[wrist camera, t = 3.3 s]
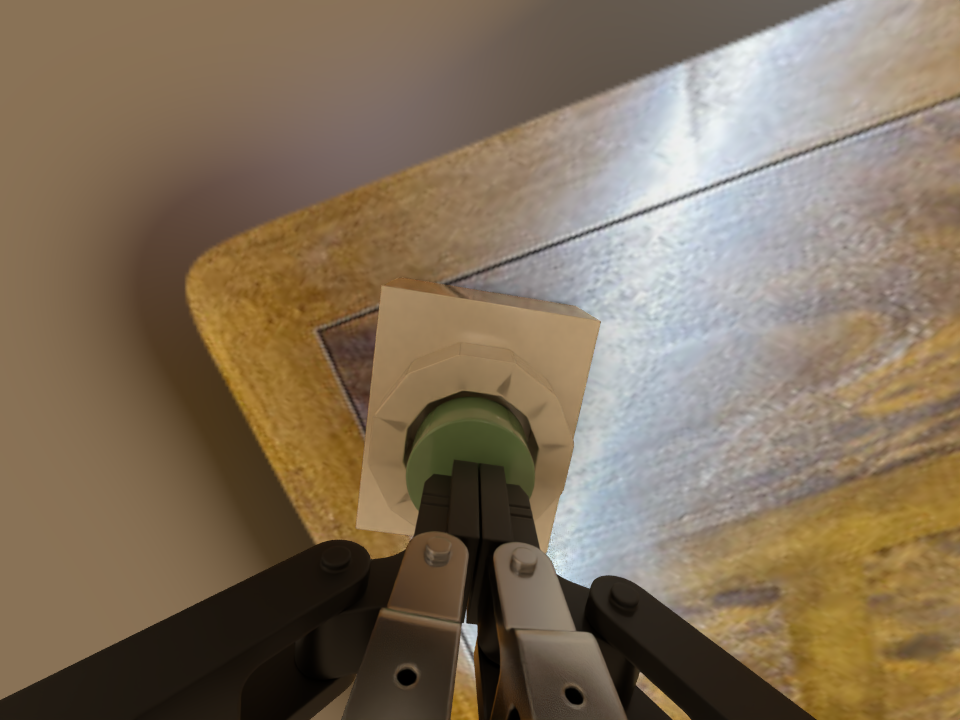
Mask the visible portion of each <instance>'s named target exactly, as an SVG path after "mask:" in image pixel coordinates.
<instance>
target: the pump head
mask: <svg viewBox="0 0 960 720" xmlns="http://www.w3.org/2000/svg"><path fill="white" fill-rule="evenodd" d="M454 459H455V460H462V461H469V462H476V463H478V466H479V463H484V464H491V465H498V466H504V471H505V479H506V484H514V485H520V487H521V488H522V489H523V490H524V491H525V493H526V494H527V495H528V496H529V500H530V498H531V496H532V493H533V489H534V485H535V467H534V462H533V459H532V455H531V452H530V448H529V444H528V441H527V437H526V434H525V431H524V429H523V427H522V425H521V423H520V422H519V420H518V419H517V418H516V416H515V415H514V414H513V413H512V412H511V411H510V410H508V409H507V408H506V407H504V406H503V405H501V404H499V403H497V402H495V401H492V400H489V399H486V398H481V397H461V398H456V399H452V400H449V401H447V402H445V403H443V404H441V405H439V406H438V407H436V408H435V409H433V410H432V411H431V412H430V413H429V414H428V415H427V416H426V417H425V418H424V420H423V421H422V422H421V424H420V426H419V428H418V430H417V433H416V436H415V439H414V442H413V446H412V449H411V452H410V456H409V459H408V463H407V467H406V486H407V490H408V493H409V496H410V498H411V500H412V502H413V504H414V506H415V507H416V509H417V510H418V511H419V508H420V503H421V498H422V493H423V488H424V483H425V481H426V480H427V479H428V478H429V477H431V476H432V475H433V474H441V475H448V476H451V472H452V466H453V461H454Z"/></svg>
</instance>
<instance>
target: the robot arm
mask: <svg viewBox="0 0 960 720" xmlns="http://www.w3.org/2000/svg"><path fill="white" fill-rule="evenodd" d="M466 608H467V620H466V623H468V624H477V626H478V636H477V641H476V646H475V651H474V666H475V678H476V690H477V702H478V714H479V720H672V719H671V718H670V717H669V716H668V715H667V714H666V713H665V712H664V711H663V710H662V709H661V708H659V707H658V706H657V705H656V704H655V703H654V702H653V701H652V700H651V699H650V698H649V697H648V696H647V695H646V694H645V693H644V692H643V691H641V690H640V689H639V688H638V687H637V686H636V682H637V679H638V676H639V673H640V672H641V673H642V674H644V675H645V676H646V677H647V678H648V679H649V680H650V681H651V682H652V683H653V684H655V685H656V686H657V687H658V688H659V689H660V690H661V691H662V692H663V693H664V694H665V695H667V696H668V697H669V698H670V699H671V700H672V701H673V702H674V703H675V704H676V705H678V706H679V707H680V708H681V709H682V710H683V711H684V712H685V713H686V714H687V715H688V716H689V717H690V719H691V720H816V719H815V718H814V717H812V716H811V715H810V714H808V713H807V712H806V711H804V710H803V709H802V708H800V707H799V706H798V705H796V704H795V703H794V702H792V701H791V700H790V699H788V698H787V697H786V696H784V695H783V694H782V693H780V692H779V691H778V690H776V689H775V688H774V687H772V686H771V685H770V684H768V683H767V682H766V681H765V680H763V679H762V678H761V677H759V676H758V675H757V674H755V673H754V672H753V671H751V670H750V669H749V668H747V667H746V666H745V665H743V664H742V663H741V662H739V661H738V660H737V659H735V658H734V657H733V656H731V655H730V654H729V653H727V652H726V651H725V650H723V649H722V648H721V647H719V646H718V645H717V644H715V643H714V642H713V641H711V640H710V639H709V638H707V637H706V636H705V635H703V634H702V633H701V632H699V631H698V630H697V629H695V628H694V627H693V626H691V625H690V624H689V623H688V622H686V621H685V620H684V619H682V618H681V617H680V616H678V615H677V614H676V613H674V612H673V611H672V610H670V609H669V608H668V607H666V606H665V605H664V604H662V603H661V602H660V601H658V600H657V599H656V598H654V597H653V596H652V595H650V594H649V593H648V592H646V591H645V590H644V589H642V588H641V587H640V586H638V585H637V584H635V583H633V582H631V581H629V580H627V579H624V578H621V577H617V576H610V575H608V576H601V577H598V578H596V579H595V580H594V581H593V582H592V585H591V588H590V589H589V588H586V587H583V586H581V585H578V584H575V583H573V582H570V581H568V580H566V579H564V578H562V577H560V576H559V575H557V574H556V571H555V568H554V566H553V563H552V561H551V560H550V558H549V557H548V556H547V555H546V554H545V553H544V552H543V551H541V550H540V546H539V542H538V537H537V533H536V528H535V523H534V519H533V514H532V510H531V505H530V501H529V496H528V495H527V494H526V493H525V491H524V490H523V489H522V488H521V487H520V485H514V484H506V479H505V471H504V466H498V465H491V464H484V463H479V466H478V463H476V462H469V461H462V460H455V459H454V461H453V466H452V472H451V476H448V475H441V474H433V475H432V476H431V477H429V478H428V479H427V480H426V481H425V483H424V488H423V493H422V498H421V503H420V508H419V513H418V517H417V522H416V527H415V532H414V537H413V538H412V539H411V540H410V542H409V543H408V545H407V548H406V549H405V550H404V551H402V552H401V553H399V554H396V555H394V556H391V557H386V558H379V559H370V555H369V553H368V552H367V550H366V549H365V548H364V547H362V546H361V545H359V544H357V543H355V542H352V541H347V540H331V541H326V542H322V543H320V544H317V545H315V546H313V547H311V548H309V549H307V550H305V551H303V552H301V553H299V554H297V555H295V556H293V557H291V558H289V559H287V560H285V561H283V562H281V563H279V564H276V565H274V566H272V567H270V568H269V569H267V570H264V571H262V572H260V573H258V574H256V575H254V576H252V577H250V578H248V579H246V580H244V581H242V582H240V583H238V584H236V585H234V586H232V587H230V588H228V589H226V590H224V591H222V592H219V593H217V594H215V595H213V596H211V597H209V598H207V599H205V600H203V601H201V602H199V603H197V604H195V605H193V606H191V607H189V608H187V609H185V610H183V611H181V612H179V613H177V614H175V615H173V616H171V617H169V618H167V619H165V620H163V621H160V622H159V623H156V624H154V625H152V626H150V627H148V628H146V629H144V630H142V631H140V632H138V633H136V634H134V635H132V636H130V637H128V638H126V639H124V640H122V641H120V642H118V643H116V644H114V645H112V646H110V647H107V648H105V649H103V650H101V651H99V652H97V653H95V654H93V655H91V656H89V657H87V658H85V659H83V660H81V661H79V662H77V663H75V664H73V665H71V666H69V667H67V668H65V669H63V670H61V671H59V672H57V673H55V674H53V675H50V676H48V677H47V678H45V679H42V680H40V681H38V682H36V683H34V684H32V685H30V686H28V687H26V688H24V689H22V690H20V691H18V692H16V693H14V694H12V695H10V696H8V697H6V698H4V699H2V700H0V720H310V719H311V718H312V717H314V716H315V715H316V714H317V713H318V712H320V711H321V710H322V709H323V708H324V707H326V706H327V705H328V704H329V703H330V702H332V701H333V700H334V699H335V698H336V697H338V696H339V695H340V694H341V693H342V692H344V691H345V690H346V689H347V688H348V687H349V686H350V685H351V683H352V682H353V681H354V679H355V677H356V679H355V682H354V685H353V688H352V690H351V693H350V696H349V699H348V702H347V705H346V707H345V710H344V713H343V716H342V719H341V720H450V718H451V709H452V701H453V693H454V684H455V676H456V668H457V660H458V651H459V643H460V635H461V626H462V623H464V618H465V613H466ZM356 674H357V676H356Z"/></svg>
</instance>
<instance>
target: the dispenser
mask: <svg viewBox="0 0 960 720" xmlns="http://www.w3.org/2000/svg"><path fill="white" fill-rule="evenodd" d="M600 323H601V321H600V320H598V319H596V318H595V317H593V316H591V315H590V314H588V313H586V312H585V311H583V310H582V309H580V308H578V307H577V306H573V305H567V304H561V303H555V302H549V301H543V300H537V299H531V298H524V297H518V296H512V295H506V294H500V293H494V292H488V291H482V290H475V289H469V288H463V287H457V286H451V285H445V284H439V283H433V282H426V281H420V280H414V279H408V278H402V277H399V278H397V279H395V280H393V281H391V282H389V283H387V284H385V285H382V286H381V294H380V303H379V313H378V322H377V332H376V341H375V350H374V360H373V369H372V379H371V388H370V398H369V407H368V416H367V426H366V435H365V445H364V454H363V464H362V473H361V482H360V492H359V501H358V511H357V520H356V529H363V530H370V531H378V532H386V533H394V534H401V535H409V536H414V532H415V527H416V522H417V517H418V513H419V511H418V510H417V509H416V507H415V506H414V504H413V502H412V500H411V498H410V496H409V493H408V490H407V486H406V467H407V463H408V459H409V456H410V452H411V449H412V446H413V442H414V439H415V436H416V433H417V430H418V428H419V426H420V424H421V422H422V421H423V420H424V418H425V417H426V416H427V415H428V414H429V413H430V412H431V411H432V410H433V409H435V408H436V407H438V406H439V405H441V404H443V403H445V402H447V401H449V400H452V399H456V398H461V397H481V398H486V399H489V400H492V401H495V402H497V403H499V404H501V405H503V406H504V407H506V408H507V409H508V410H510V411H511V412H512V413H513V414H514V415H515V416H516V418H517V419H518V420H519V422H520V423H521V425H522V427H523V429H524V431H525V434H526V437H527V441H528V444H529V448H530V452H531V455H532V459H533V462H534V467H535V485H534V489H533V493H532V496H531V498H530V500H529V501H530V505H531V510H532V514H533V519H534V523H535V528H536V533H537V537H538V542H539V546H540V550H541V551H543V552H544V553H546V552H547V549H548V544H549V540H550V536H551V532H552V527H553V523H554V519H555V515H556V510H557V506H558V502H559V497H560V495H561V494H562V491H563V490H564V486H565V482H566V478H567V473H568V469H569V465H570V461H571V457H572V452H573V448H574V441H573V438H574V434H575V429H576V425H577V421H578V417H579V412H580V408H581V404H582V400H583V395H584V391H585V387H586V383H587V378H588V374H589V370H590V366H591V361H592V357H593V353H594V349H595V344H596V340H597V336H598V332H599V327H600Z"/></svg>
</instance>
